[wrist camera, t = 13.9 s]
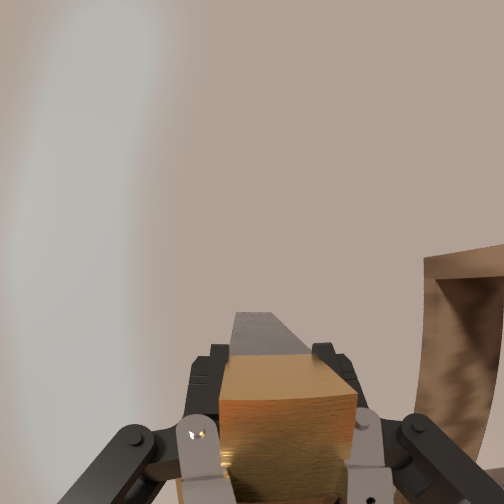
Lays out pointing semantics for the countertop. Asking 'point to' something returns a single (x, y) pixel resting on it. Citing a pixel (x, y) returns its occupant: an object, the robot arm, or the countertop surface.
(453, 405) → the walnut bridge
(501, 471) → the countertop surface
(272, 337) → the grey and wood bar
